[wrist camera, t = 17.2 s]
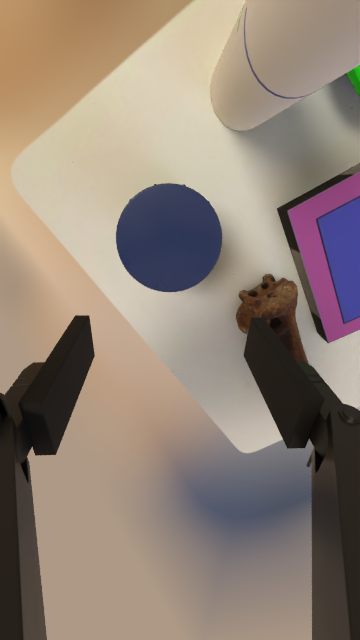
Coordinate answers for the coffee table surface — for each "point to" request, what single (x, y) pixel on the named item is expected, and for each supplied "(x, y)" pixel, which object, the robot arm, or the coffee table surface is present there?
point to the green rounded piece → (355, 78)
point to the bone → (274, 311)
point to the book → (328, 251)
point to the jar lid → (169, 237)
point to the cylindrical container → (283, 57)
